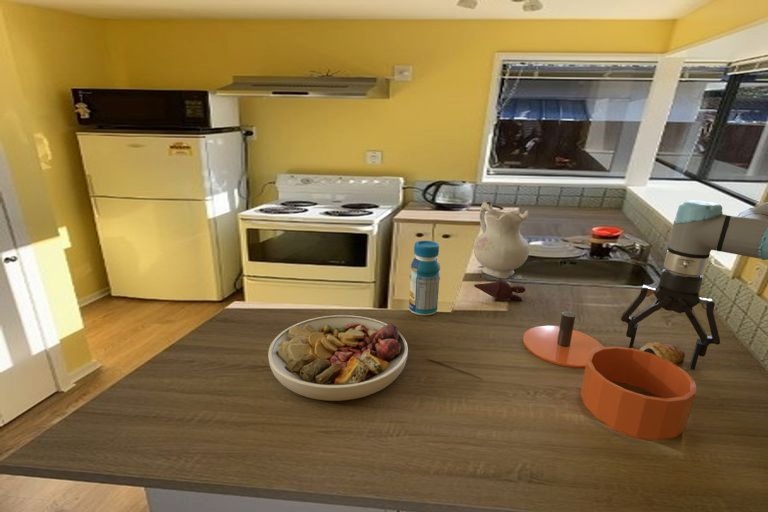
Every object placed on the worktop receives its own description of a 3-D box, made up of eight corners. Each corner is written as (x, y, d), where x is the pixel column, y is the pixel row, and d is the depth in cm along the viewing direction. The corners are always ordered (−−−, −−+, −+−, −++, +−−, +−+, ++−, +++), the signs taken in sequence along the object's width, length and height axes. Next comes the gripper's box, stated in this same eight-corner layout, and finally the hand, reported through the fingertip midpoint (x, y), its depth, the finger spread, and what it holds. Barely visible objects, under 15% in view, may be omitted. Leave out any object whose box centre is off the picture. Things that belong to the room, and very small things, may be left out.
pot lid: (610, 344, 106) (618, 310, 103) (598, 380, 91) (606, 342, 88) (534, 323, 116) (539, 292, 113) (512, 352, 101) (517, 317, 98)
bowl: (286, 427, 75) (283, 389, 73) (259, 346, 101) (257, 316, 99) (432, 387, 87) (434, 354, 85) (375, 324, 113) (375, 297, 111)
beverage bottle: (426, 319, 116) (430, 250, 110) (402, 310, 122) (405, 243, 115) (443, 309, 123) (448, 243, 116) (419, 301, 128) (423, 237, 121)
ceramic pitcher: (456, 270, 157) (458, 205, 148) (487, 256, 169) (490, 195, 160) (507, 288, 142) (513, 217, 133) (537, 271, 154) (544, 204, 145)
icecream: (474, 283, 126) (526, 293, 122) (476, 269, 132) (526, 279, 128) (470, 301, 129) (521, 311, 126) (473, 287, 135) (521, 296, 132)
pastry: (667, 349, 104) (671, 335, 103) (692, 364, 98) (696, 350, 97) (635, 353, 102) (639, 339, 101) (659, 369, 96) (663, 354, 94)
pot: (684, 402, 85) (695, 365, 82) (683, 456, 71) (696, 414, 68) (589, 372, 94) (596, 338, 91) (572, 415, 80) (579, 376, 78)
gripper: (619, 264, 97) (601, 348, 103) (755, 290, 84) (725, 383, 91) (623, 256, 102) (606, 336, 109) (751, 279, 90) (722, 367, 97)
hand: (660, 357), depth 100 cm, fingers open, 12 cm apart
